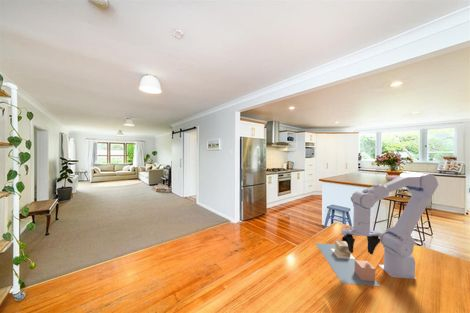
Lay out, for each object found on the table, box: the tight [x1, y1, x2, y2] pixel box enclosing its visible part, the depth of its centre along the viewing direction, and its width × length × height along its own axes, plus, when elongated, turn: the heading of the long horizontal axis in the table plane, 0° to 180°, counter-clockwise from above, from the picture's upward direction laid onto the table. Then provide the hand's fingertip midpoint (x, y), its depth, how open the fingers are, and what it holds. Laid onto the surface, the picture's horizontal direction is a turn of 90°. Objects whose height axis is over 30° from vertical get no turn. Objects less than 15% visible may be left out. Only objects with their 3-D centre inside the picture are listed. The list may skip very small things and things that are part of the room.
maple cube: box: [334, 240, 352, 257], centre depth 89 cm, size 5×5×5 cm
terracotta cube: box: [354, 259, 377, 281], centre depth 73 cm, size 5×5×5 cm
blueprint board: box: [315, 242, 381, 287], centre depth 84 cm, size 14×30×1 cm, turn 174°
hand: (360, 252), depth 76 cm, fingers open, 7 cm apart
